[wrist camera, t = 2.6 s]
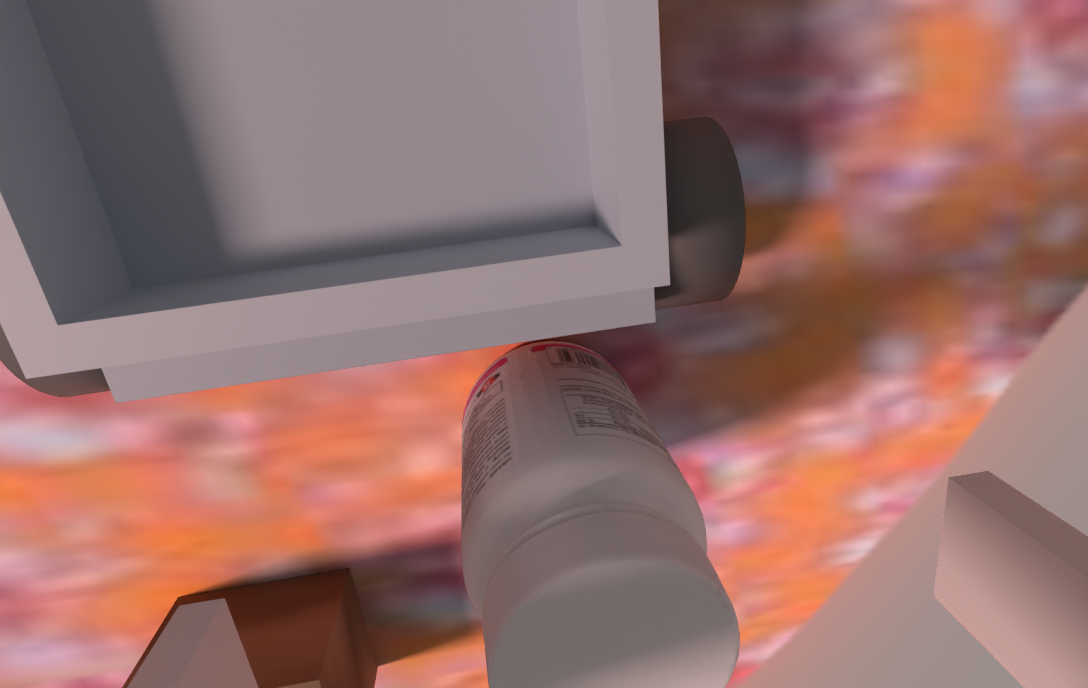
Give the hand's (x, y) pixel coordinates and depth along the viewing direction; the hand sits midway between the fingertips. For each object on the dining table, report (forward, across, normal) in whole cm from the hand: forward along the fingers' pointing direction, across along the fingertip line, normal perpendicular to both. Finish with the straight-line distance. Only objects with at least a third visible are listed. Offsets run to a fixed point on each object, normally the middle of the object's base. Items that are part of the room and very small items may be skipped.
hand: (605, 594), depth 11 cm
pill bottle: (+7, 0, 0) cm, 7 cm away
